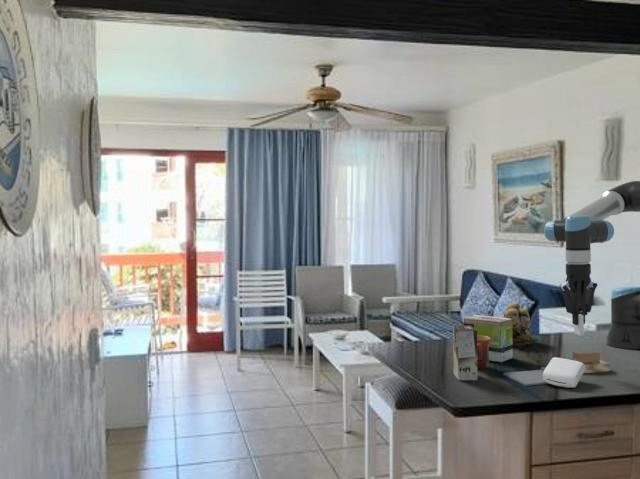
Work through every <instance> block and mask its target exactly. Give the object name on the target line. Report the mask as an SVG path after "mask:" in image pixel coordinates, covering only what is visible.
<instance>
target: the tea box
mask: <svg viewBox="0 0 640 479" xmlns="http://www.w3.org/2000/svg"><path fill="white" fill-rule="evenodd" d="M463 325H470V326H472V327H473V328H475V329H476V330H477V335H482V336H488V337H490V338H491V340H490V344H489V361H492V362H496V363H497V362H498V363H503V362H506V361H508V360H510V359H513V356H514V354H513V350H514V349H513V331H512V318H503V317H500V316H491V315H481V314H479V315H478V314H474V315H471V316H467V317H463Z"/></svg>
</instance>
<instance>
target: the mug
mask: <svg viewBox="0 0 640 479" xmlns="http://www.w3.org/2000/svg"><path fill="white" fill-rule="evenodd" d="M490 340H491V338H490V337H488V336H482V335H477V370H485V369H487V368H489V363H490V360H489V344H490Z"/></svg>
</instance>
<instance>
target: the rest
mask: <svg viewBox="0 0 640 479" xmlns="http://www.w3.org/2000/svg"><path fill="white" fill-rule="evenodd" d="M584 365H585V371H584V373H583V374H589V373H590V374H591V373H602V372H603V373H604V372H610V371H611V362H610V363H609V362H607V361H604V360H601V359H600V363H592V364H584Z"/></svg>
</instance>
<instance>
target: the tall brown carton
mask: <svg viewBox="0 0 640 479" xmlns="http://www.w3.org/2000/svg"><path fill="white" fill-rule="evenodd" d="M600 356H601V355H600V352H599V351H597V350H584V351H583V350H582V351H581V350H579V351H572V357H571V358H572V359H571V360H574V361H578V362H582V363H583V364H592V363H600V360H601V359H600V358H601V357H600Z"/></svg>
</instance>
